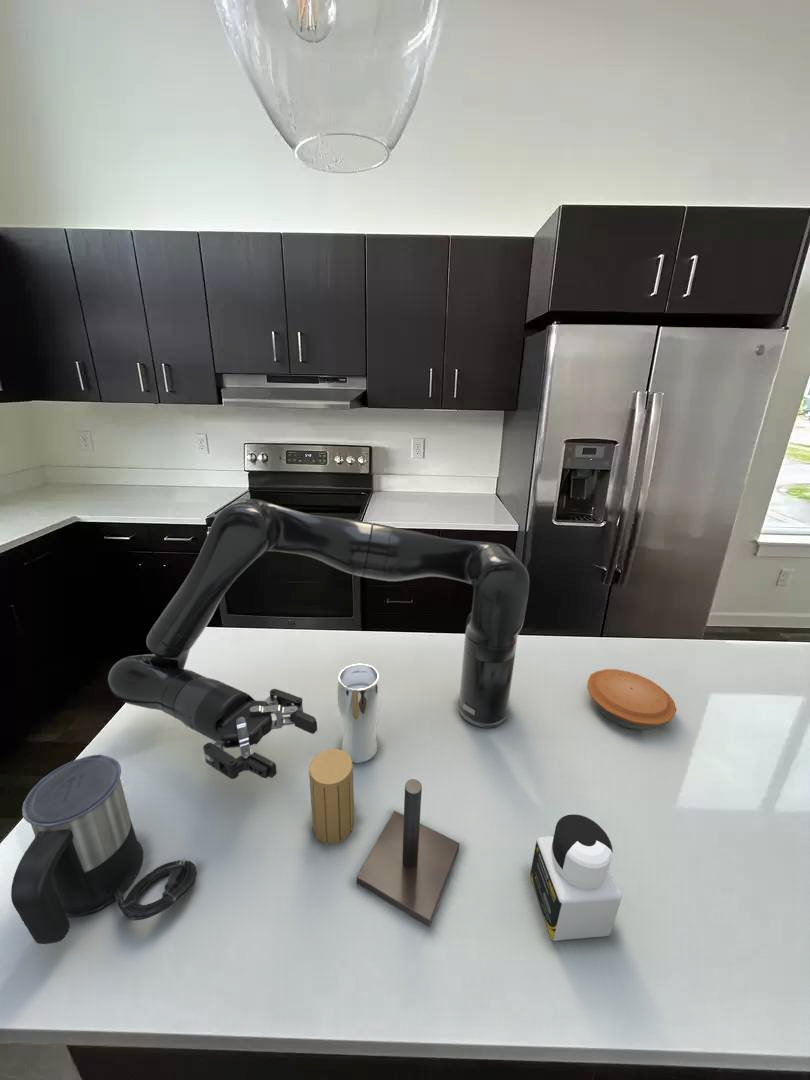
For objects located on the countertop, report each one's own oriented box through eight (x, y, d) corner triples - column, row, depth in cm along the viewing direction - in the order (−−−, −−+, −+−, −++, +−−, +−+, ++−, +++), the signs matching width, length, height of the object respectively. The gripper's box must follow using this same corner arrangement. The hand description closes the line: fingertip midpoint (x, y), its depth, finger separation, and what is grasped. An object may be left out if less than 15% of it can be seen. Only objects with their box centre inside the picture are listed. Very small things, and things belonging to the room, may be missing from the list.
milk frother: (67, 852, 56) (37, 767, 51) (200, 809, 62) (184, 730, 57) (28, 985, 44) (-18, 890, 39) (197, 916, 50) (177, 826, 45)
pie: (649, 686, 90) (655, 666, 89) (687, 743, 76) (695, 721, 74) (575, 680, 92) (578, 660, 90) (598, 735, 77) (603, 713, 76)
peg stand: (394, 816, 62) (395, 741, 57) (459, 849, 58) (467, 771, 53) (356, 883, 53) (354, 802, 49) (429, 927, 49) (435, 843, 44)
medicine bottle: (528, 874, 55) (541, 807, 51) (581, 870, 55) (598, 803, 51) (551, 942, 48) (568, 871, 44) (611, 937, 49) (633, 866, 45)
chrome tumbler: (373, 769, 69) (373, 694, 64) (333, 761, 70) (330, 686, 65) (384, 736, 76) (385, 666, 70) (346, 729, 77) (345, 660, 72)
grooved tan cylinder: (328, 799, 64) (326, 742, 60) (361, 816, 62) (360, 758, 58) (304, 831, 59) (300, 772, 55) (338, 851, 57) (336, 791, 53)
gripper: (167, 718, 58) (255, 765, 52) (246, 663, 70) (326, 695, 64) (176, 760, 61) (261, 810, 54) (251, 699, 73) (328, 734, 66)
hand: (296, 747), depth 59 cm, fingers open, 8 cm apart
